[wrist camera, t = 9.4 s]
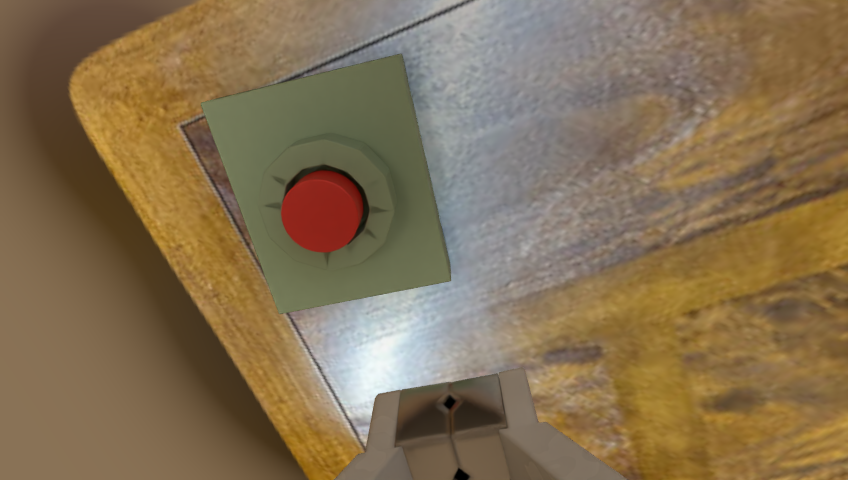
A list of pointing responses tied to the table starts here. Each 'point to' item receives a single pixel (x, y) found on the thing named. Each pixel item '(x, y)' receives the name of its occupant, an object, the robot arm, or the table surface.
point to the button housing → (345, 154)
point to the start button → (322, 211)
